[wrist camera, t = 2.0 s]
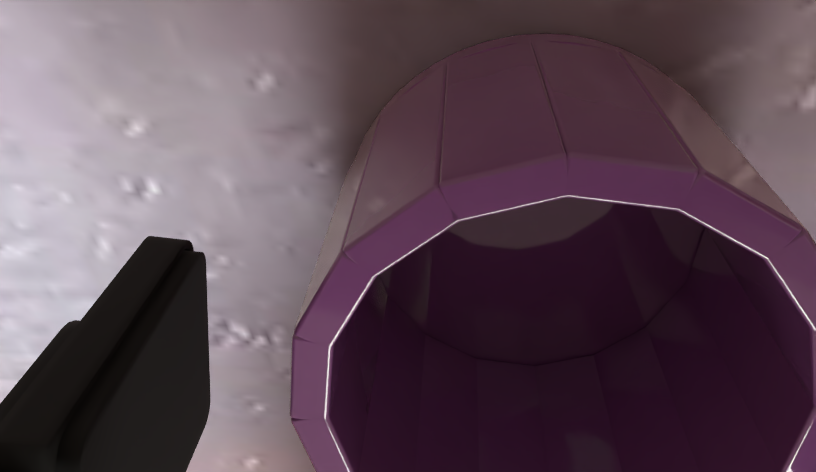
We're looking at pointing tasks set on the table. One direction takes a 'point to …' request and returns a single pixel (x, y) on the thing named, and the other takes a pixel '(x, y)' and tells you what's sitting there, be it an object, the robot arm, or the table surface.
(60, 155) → the table surface
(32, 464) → the robot arm
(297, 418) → the plum dish
